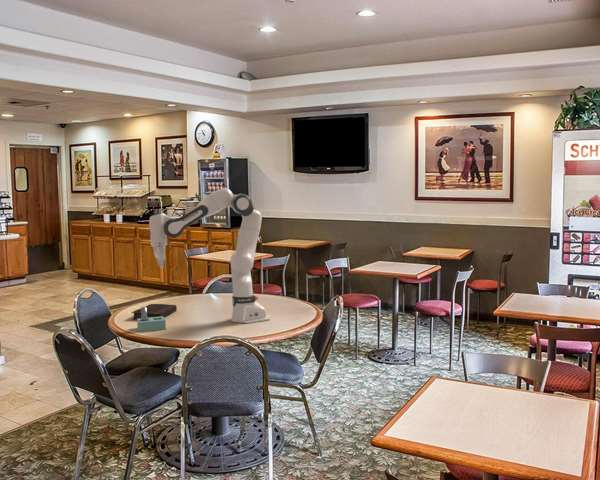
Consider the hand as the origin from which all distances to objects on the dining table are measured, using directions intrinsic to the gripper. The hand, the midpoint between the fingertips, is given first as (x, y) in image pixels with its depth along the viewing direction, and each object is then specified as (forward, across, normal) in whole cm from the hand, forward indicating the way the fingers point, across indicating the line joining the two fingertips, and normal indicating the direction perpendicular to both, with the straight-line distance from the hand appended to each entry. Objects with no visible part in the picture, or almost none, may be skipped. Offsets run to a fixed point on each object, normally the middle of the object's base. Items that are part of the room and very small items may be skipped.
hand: (160, 267), depth 318 cm
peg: (+32, -6, +12) cm, 35 cm away
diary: (+33, +26, +3) cm, 42 cm away
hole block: (+32, -6, +8) cm, 34 cm away
